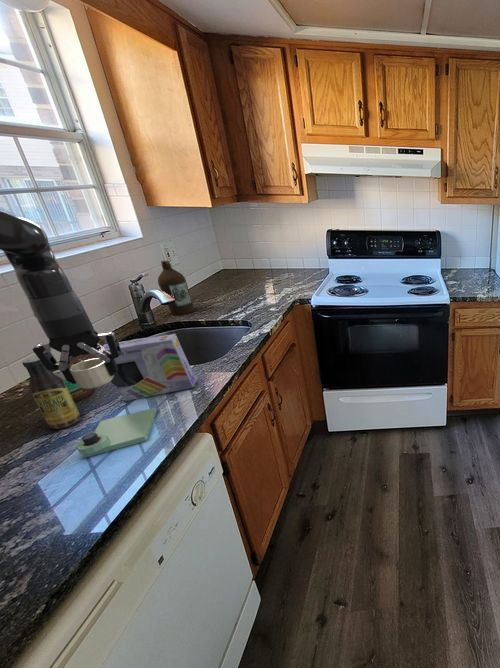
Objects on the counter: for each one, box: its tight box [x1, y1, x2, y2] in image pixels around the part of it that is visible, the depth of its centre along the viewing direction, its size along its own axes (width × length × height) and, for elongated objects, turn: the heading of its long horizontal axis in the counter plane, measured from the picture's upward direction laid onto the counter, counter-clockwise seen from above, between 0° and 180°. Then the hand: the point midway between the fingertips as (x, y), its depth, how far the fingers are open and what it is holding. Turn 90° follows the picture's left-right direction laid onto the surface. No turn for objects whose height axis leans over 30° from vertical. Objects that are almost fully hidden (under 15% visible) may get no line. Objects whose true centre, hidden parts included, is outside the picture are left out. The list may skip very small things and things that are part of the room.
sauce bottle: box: [21, 355, 81, 430], centre depth 95 cm, size 7×6×20 cm
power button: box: [81, 431, 100, 446], centre depth 88 cm, size 3×3×2 cm
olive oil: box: [157, 259, 195, 316], centre depth 172 cm, size 11×11×25 cm
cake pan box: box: [102, 333, 197, 402], centre depth 109 cm, size 19×5×18 cm, turn 109°
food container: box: [52, 358, 94, 403], centre depth 109 cm, size 12×6×10 cm, turn 159°
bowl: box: [69, 357, 114, 389], centre depth 86 cm, size 6×6×5 cm
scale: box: [76, 407, 157, 458], centre depth 94 cm, size 13×15×3 cm
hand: (95, 378), depth 87 cm, fingers closed on bowl, 6 cm apart
